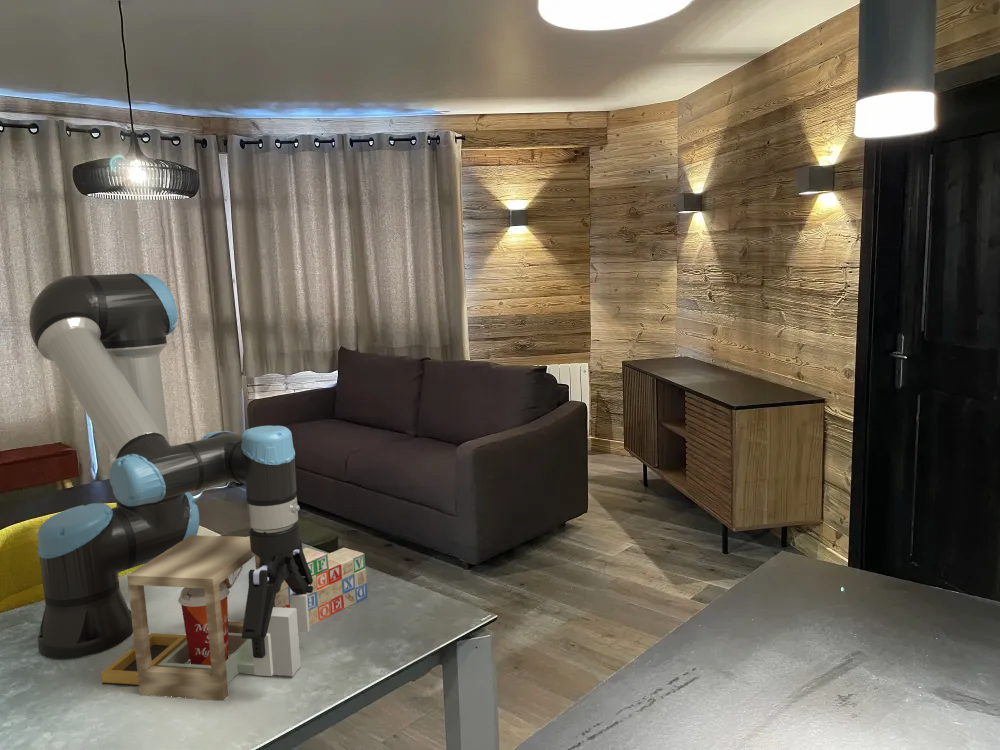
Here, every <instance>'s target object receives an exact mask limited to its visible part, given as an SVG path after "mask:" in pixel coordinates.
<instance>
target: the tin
mask: <svg viewBox="0 0 1000 750" xmlns="http://www.w3.org/2000/svg"><path fill="white" fill-rule="evenodd" d="M228 536H229V537H242V536H241V535H231V534H230V535H228ZM242 569H243V566H241V567H240V568H239V569H238V570H236V571H235V572H234V573H233V574H231V575H230V576H229V577H228V578H226V579H225V580H224V581H223V582H224V583H225V584H226V587H227V588H232V586H233V585H234V583H235V582H236V580H237V579H238V577H239V575H240V573H241V572H240V571H242ZM237 576H238V577H237ZM236 578H237V579H236ZM234 581H235V582H234Z"/></svg>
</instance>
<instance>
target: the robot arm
mask: <svg viewBox="0 0 1000 750" xmlns="http://www.w3.org/2000/svg"><path fill="white" fill-rule="evenodd" d="M177 322H178V308H177V304H176V301H175V298H174V296H173V293H172V291H171V290H170V288H169V287H168V285H166V283H165V282H164V281H163V280H162V279H161V278H160V277H158V276H156V275H153V274H144V273H132V272H129V273H117V274H116V273H114V274H113V273H112V274H111V273H110V274H90V275H89V274H88V275H85V274H84V275H83V274H74V275H67V276H63V277H61V278H58V279H56V280H54V281H52V282H50V283H49V284H47V285H46V286H44V288H43V289H42V290H41V291H40V293H39V294H38V295H37V296H36V298H35V299H34V302H33V304H32V306H31V309H30V313H29V321H28V323H29V331H30V336H31V338H32V341H33V343H34V346H35V347H36V348H37V351H39V353H40V355H41V356H42V357H44V359H46V360H48V361H50V362H53V363H54V364H55V366H56V367H57V369H58V370H59V372H60V374H61V375H62V377H63V378H64V380H65V382H66V383H67V384H68V386H69V387H70V390H71V391H72V393H73V394H74V397H76V399H77V401H78V403H79V404H80V406H81V407H82V409H83V410H84V411H85V413H86V415H87V417H88V418H89V420H90V421H91V424H93V426H94V428H95V429H96V430H97V433H98V434H99V437H101V439H102V440H103V442H104V444H105V446H106V447H107V449H108V450H109V451H110V453H111V455H112V456H113V458H114V459H115V460H113V461H112V463H111V465H110V468H109V474H108V476H109V483H110V486H111V487H112V493H113V496H114V497H115V502H116V503H115V504H116V507H112V508H111V507H110V505H108V504H106V503H102V502H95V503H88V504H86V505H84V504H82V505H77V506H74V507H71V508H68V509H66V510H62V511H59V512H58V513H56V514H54V515H52V516H50V517H49V518H47V519H46V520H45V521H44V522H43V523H42V524H41V525H40V526H39V529H38V531H37V544H38V545H37V547H38V548H37V556H38V557H39V563H40V564H39V565H40V572H41V573H40V574H41V579H42V581H41V582H42V587H43V588H42V589H43V596H44V602H45V606H44V609H43V616H42V618H41V619H42V620H41V624H40V628H39V633H38V634H37V635H38V636H37V645H38V651H39V652H38V653H39V654H41V656H43V657H45V658H48V659H51V660H52V659H53V660H73V659H78V658H84V657H85V658H86V657H89V656H93V655H96V654H99V653H102V652H104V651H108V650H110V649H113V648H114V647H117V646H119V645H120V644H122V643H123V642H125V641H126V640H128V638H129V639H130V636H132V635H133V626H132V616H131V609H129V607H128V604H127V602H126V600H125V598H124V596H123V593H122V592H121V588H120V581H119V573H121V572H124V571H127V570H131V569H134V568H136V567H141V566H143V565H144V564H146V563H148V562H149V561H151V560H152V559H154V558H156V557H157V556H159V555H160V554H162V553H163V552H165V551H167V550H168V549H170V548H171V547H173V546H174V545H176V544H178V543H179V542H181V541H182V540H184V539H186V538H187V537H189V536H190V535H198V533H199V527H200V512H199V507H198V505H197V504H196V499H195V497H194V496H193V495H192V493H190V492H194V491H199V490H203V489H206V488H210V487H214V486H217V485H221V484H225V483H229V482H234V483H239V484H241V485H242V484H243V485H245V492H246V493H245V494H246V503H247V505H246V508H247V519H248V520H247V521H248V527H250V529H249V532H248V533H249V537H250V547H251V551H252V553H254V554H256V555H257V556H258V557H259V558H260V565H259V569H257V570H252V569H250V570H249V571H248V590H247V596H246V603H245V611H244V615H243V616H244V617H243V622H244V623H243V630H242V638H243V639H252V651H253V663H254V674H253V675H254V676H264V677H272V676H273V675H272V674H273V662H272V649H271V636H270V633H267V631H268V626H269V622H270V618H271V614H272V609H273V605H274V601H275V597H276V593H278V592H279V591H280V588H281V584H282V583H283V581H284V580H285V582H286V583H287V584H288V586H289V587H290V588H291V590H292V591H293V592H295V594H291V595H290V600H291V608H296V609H297V623H298V633H307V634H308V633H309V632H310V629H311V628H310V626H309V614H308V599H307V594H306V593H312V591H313V586H308V585H311V584H312V582H313V578H312V575H311V573H310V570H309V567H308V564H307V561H306V559H305V556H304V553H303V549H304V548H303V542H302V539H301V535H300V534H301V533H300V525H299V523H298V521H299V511H300V509H301V508H300V505H299V504H298V499H297V498H298V497H297V496H298V495H297V477H296V474H297V473H296V461H295V459H296V457H295V456H296V451H295V448H294V441H293V436H292V435H293V434H292V431H291V430H290V429H289V428H288V427H286V426H283V425H260V426H255V427H251V428H248V429H246V430H244V432H243V433H242V434H240V433H237V432H234V431H228V430H226V431H225V430H224V431H221V430H220V431H219V430H218V431H212V432H209V433H207V434H206V435H204V436H203V437H201V438H200V439H199V440H195V441H191V442H186V443H180V444H175V445H171V444H170V441H169V440H170V439H169V430H168V421H167V419H168V418H167V412H166V404H165V395H164V394H165V393H164V384H163V376H162V369H161V368H162V366H161V358H160V354H161V352H163V350H164V349H165V348H166V346H167V345H168V342H167V336H168V335H170V334H171V333H173V332H174V331H175V329H176V327H177ZM302 576H304V577H302ZM267 584H268V585H267Z"/></svg>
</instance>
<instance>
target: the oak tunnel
mask: <svg viewBox="0 0 1000 750" xmlns="http://www.w3.org/2000/svg"><path fill="white" fill-rule="evenodd" d="M229 536H230V535H227V536H222V535H198V534H197V535H190V536H189V537H187V538H186V539H184V540H182V541H181V542H179V543H178V544H176V545H174V546H173V547H171V548H170V549H168V550H167V551H165V552H163V553H162V554H160V555H159V556H157V557H156V558H154V559H152V560H151V561H149V562H148V563H145V564H143V565H140V566H139V567H138V568H137V569H135V570H134V571H131V572H130V573H129V574H126V575H127V586H128V595H129V605H130V611H131V616H132V626H133V633H132V635H133V641H134V642H133V643H134V646H135V654H136V663H137V673H138V682H139V687H138V690H139V695H140V696H151V695H152V697H153V695H154V697H163V696H167V697H166V698H177V697H181V698H180V699H191V698H196V699H195V700H205V699H207V701H208V700H209V699H211V700H209V701H219V700H224V699H225V698H226V697H228V696H230V695H229V683H227V671H226V660H225V648H224V637H223V625H222V614H221V602H220V591H219V584H220V583H221V582H223V581H224V580H225V579H226V578H228V577H229V576H230V575H231V574H233V573H234V572H235V571H236V570H238V569H239V568H240V567H241V566H242V567H243V566H244V565H245V564H246V563H248V562H249V561H250V560H251V559H253V558H254V559H255V561H254V562H255V568H256V570H257V569H259V565H260V558H259V557H258V556H257V555H256V554H254V553H252V551H251V547H250V536H241V537H229ZM267 585H268V584H267ZM147 586H148V587H168V588H169V587H170V588H185V587H187V588H204V591H205V602H206V613H207V624H208V635H209V646H210V657H211V668H212V670H202V669H187V668H171V667H156V666H152V660H151V650H150V641H149V634H150V633H149V622H148V614H147V613H148V612H147V603H146V594H145V587H147ZM243 623H244V621H242V620H241V621H238V620H228V633H242V630H243ZM171 696H172V697H171ZM185 697H186V698H185ZM226 699H227V698H226ZM226 699H225V700H226ZM225 700H224V701H225Z"/></svg>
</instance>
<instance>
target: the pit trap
mask: <svg viewBox="0 0 1000 750" xmlns="http://www.w3.org/2000/svg"><path fill="white" fill-rule="evenodd" d="M186 640H187V638H186V634H178V633H177V634H176V633H175V634H174V633H158V632H157V633H156V632H150V633H149V641H150V650H151V660H152V666H156V667H158V664H159V663H161V662H162V661H163V660H164V659H165V658H166V657H168V656H169V655H170V654H171V653H172V652H173V651H174V650H176V649H177V648H178V647H179V646H180V645H181V644H183V643H184V642H185V641H186ZM100 676H101V684H102V686H104V685H105V686H121V687H131V688H132V687H134V688H139V682H138V673H137V663H136V654H135V645H134V646H133V647H132V648H130V649H129V650H128V651H127V652H125V653H124V654H122V656H120V657H119V658H117V660H115V661H113V662H112V663H111V664H110V665H108V667H106V668H105V669H103V670H102V671H101V672H100Z"/></svg>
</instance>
